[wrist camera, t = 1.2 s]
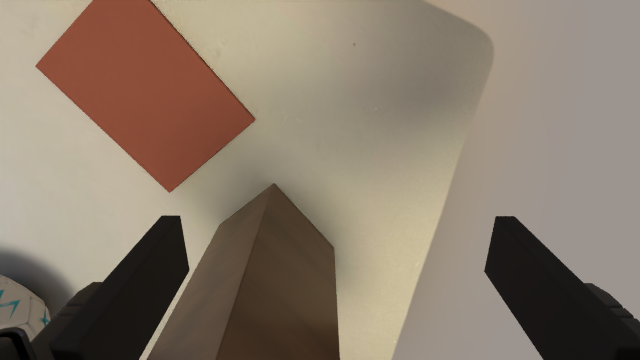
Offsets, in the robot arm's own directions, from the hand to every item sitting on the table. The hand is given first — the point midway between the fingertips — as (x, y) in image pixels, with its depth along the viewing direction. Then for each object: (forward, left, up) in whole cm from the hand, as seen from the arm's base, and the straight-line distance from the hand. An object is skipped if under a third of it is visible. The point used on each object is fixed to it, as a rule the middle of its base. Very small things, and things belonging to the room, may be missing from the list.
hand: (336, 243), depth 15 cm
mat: (+11, -13, -21) cm, 27 cm away
